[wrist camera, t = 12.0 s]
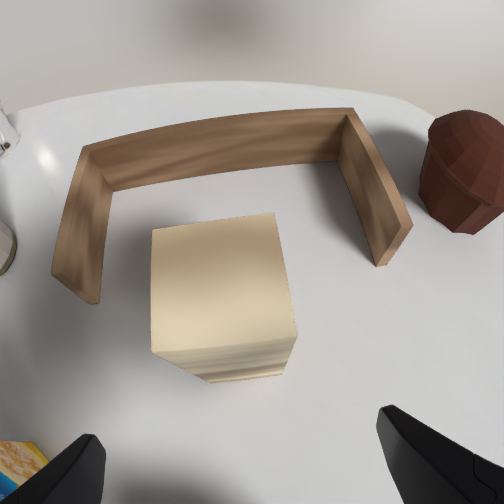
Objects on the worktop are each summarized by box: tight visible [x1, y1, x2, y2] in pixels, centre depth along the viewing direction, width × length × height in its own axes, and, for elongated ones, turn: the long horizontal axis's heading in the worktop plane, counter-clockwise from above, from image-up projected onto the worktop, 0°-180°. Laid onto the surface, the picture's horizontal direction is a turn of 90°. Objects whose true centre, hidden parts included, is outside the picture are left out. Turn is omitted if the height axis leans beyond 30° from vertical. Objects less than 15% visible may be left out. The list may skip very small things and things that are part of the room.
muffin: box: [418, 110, 504, 235], centre depth 23 cm, size 12×11×10 cm
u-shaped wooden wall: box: [51, 108, 413, 304], centre depth 24 cm, size 13×25×6 cm, turn 97°
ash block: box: [151, 213, 298, 383], centre depth 16 cm, size 5×5×12 cm
